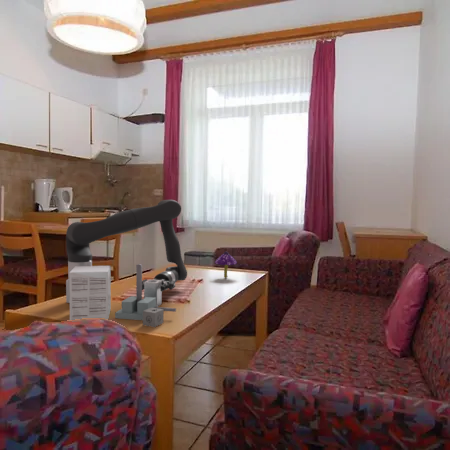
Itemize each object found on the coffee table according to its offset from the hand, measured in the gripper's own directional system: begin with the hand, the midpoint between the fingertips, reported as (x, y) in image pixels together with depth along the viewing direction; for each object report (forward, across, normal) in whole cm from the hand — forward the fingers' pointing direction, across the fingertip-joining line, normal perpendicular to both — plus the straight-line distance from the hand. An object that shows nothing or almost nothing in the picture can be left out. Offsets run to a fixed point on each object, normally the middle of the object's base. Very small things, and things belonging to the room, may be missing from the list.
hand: (151, 288), depth 150 cm
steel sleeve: (-2, 0, +8) cm, 8 cm away
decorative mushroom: (-65, +19, +8) cm, 68 cm away
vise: (+12, +3, +8) cm, 15 cm away
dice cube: (+20, +9, +8) cm, 23 cm away
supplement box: (+16, -17, +8) cm, 25 cm away
